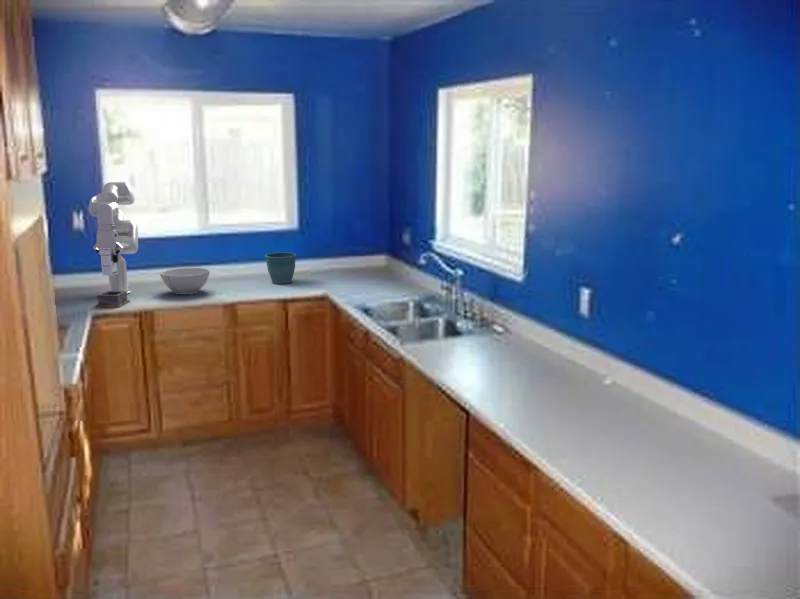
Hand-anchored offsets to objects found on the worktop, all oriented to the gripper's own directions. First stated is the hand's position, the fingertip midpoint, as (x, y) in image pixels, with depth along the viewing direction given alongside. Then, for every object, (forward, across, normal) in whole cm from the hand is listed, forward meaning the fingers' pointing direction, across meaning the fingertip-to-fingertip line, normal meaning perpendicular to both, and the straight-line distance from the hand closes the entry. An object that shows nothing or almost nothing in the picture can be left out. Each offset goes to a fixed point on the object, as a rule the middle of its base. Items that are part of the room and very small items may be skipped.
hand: (109, 261), depth 372 cm
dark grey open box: (+23, 0, 0) cm, 23 cm away
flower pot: (+23, -75, -63) cm, 101 cm away
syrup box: (+7, 0, 0) cm, 7 cm away
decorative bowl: (+23, -28, -31) cm, 48 cm away
